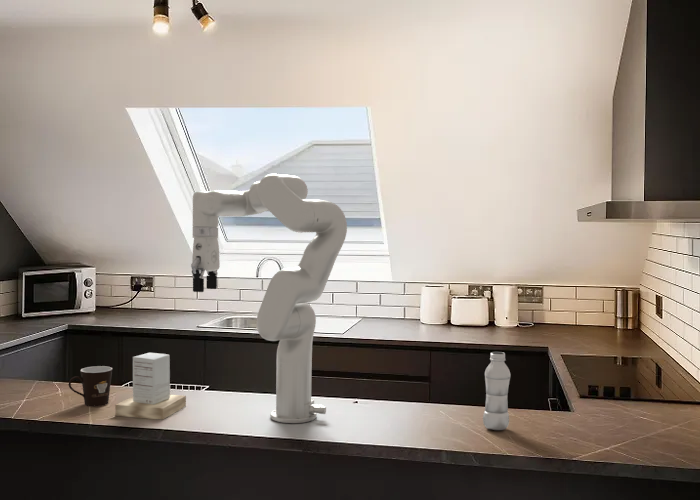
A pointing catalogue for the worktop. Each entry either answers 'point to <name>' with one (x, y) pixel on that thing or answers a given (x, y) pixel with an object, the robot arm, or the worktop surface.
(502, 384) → the plastic bottle
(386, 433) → the worktop surface
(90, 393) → the coffee mug
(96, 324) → the worktop surface
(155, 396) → the supplement box
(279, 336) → the robot arm
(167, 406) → the block
